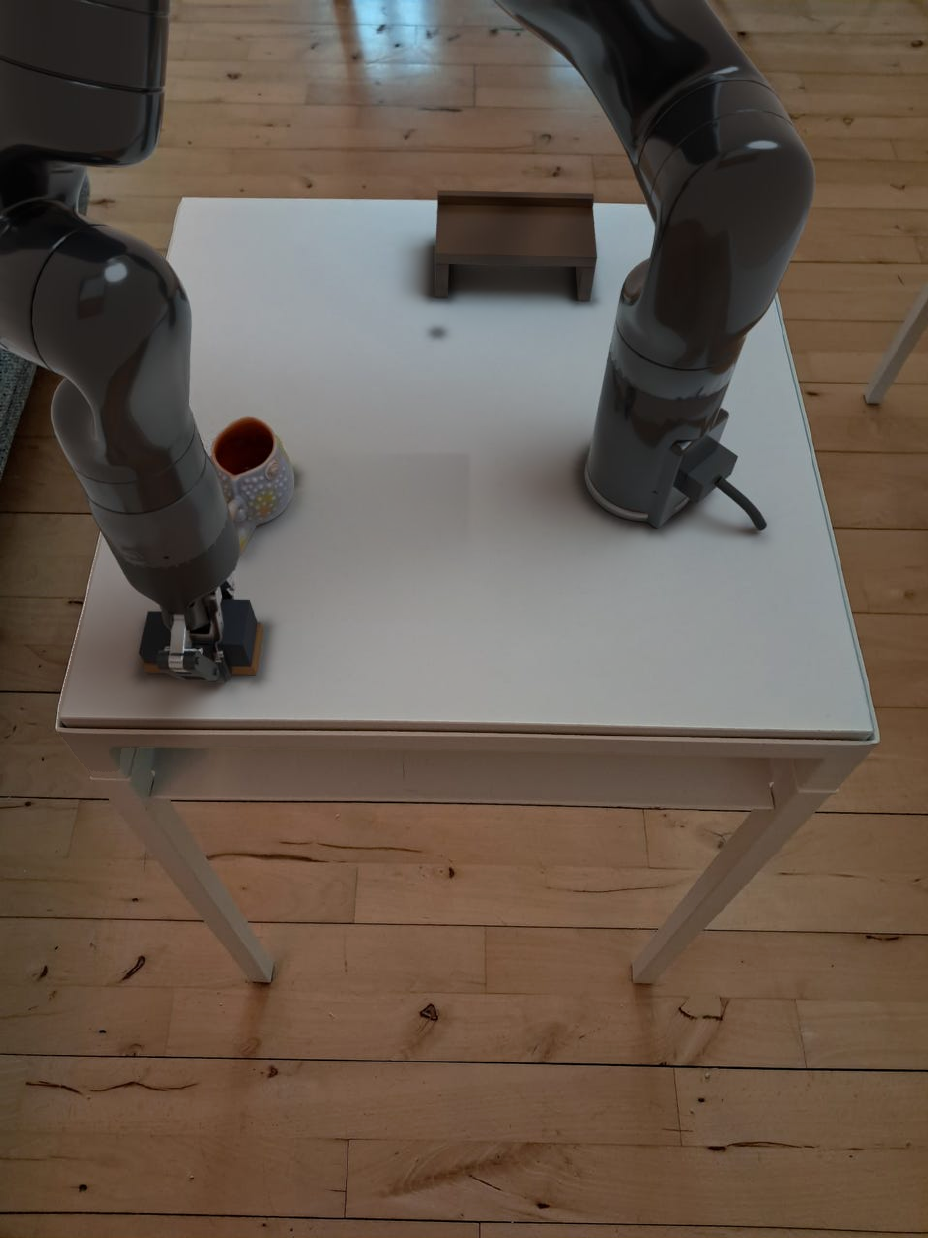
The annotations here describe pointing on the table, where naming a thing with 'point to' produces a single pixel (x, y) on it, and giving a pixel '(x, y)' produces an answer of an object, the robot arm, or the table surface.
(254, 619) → the stepped blocks on board
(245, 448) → the mug
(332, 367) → the table surface
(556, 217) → the shoe shelf
